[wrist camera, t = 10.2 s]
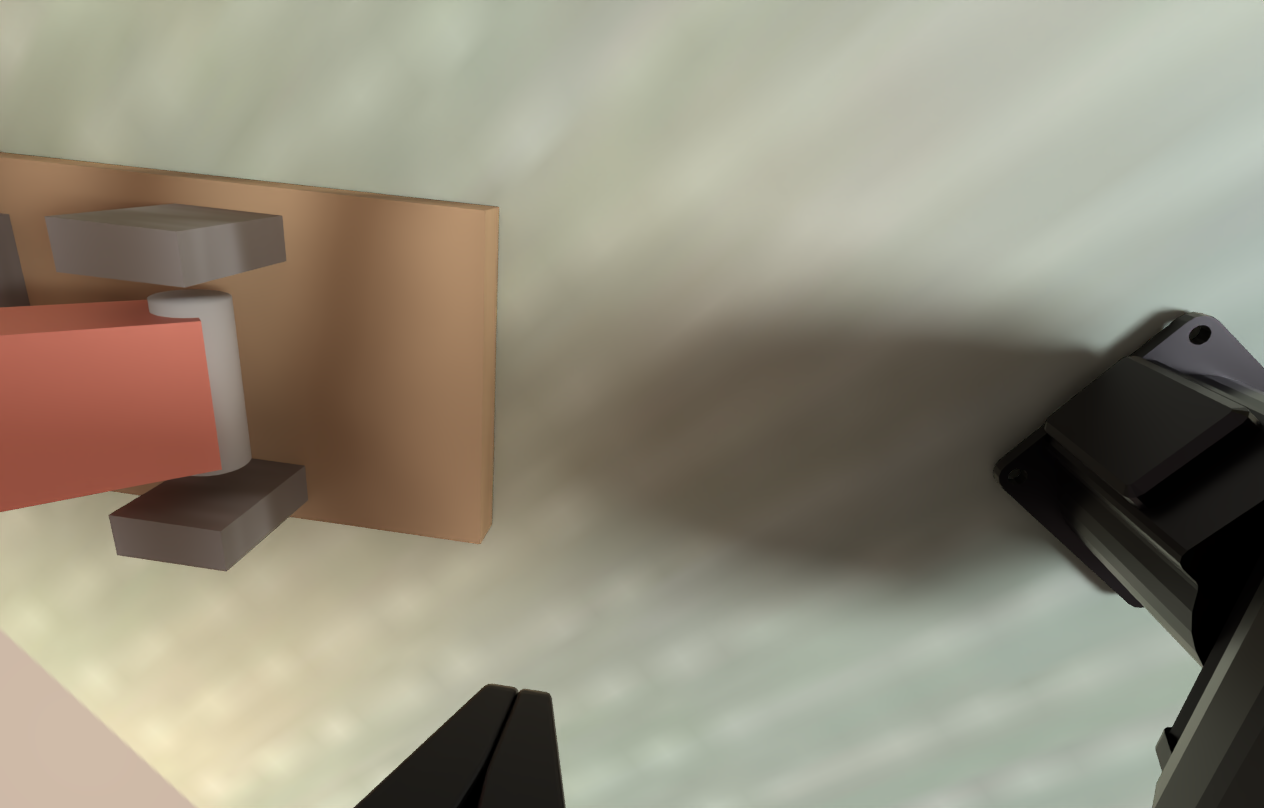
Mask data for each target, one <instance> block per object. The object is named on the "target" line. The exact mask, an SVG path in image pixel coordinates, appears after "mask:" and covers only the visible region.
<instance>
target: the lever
mask: <svg viewBox="0 0 1264 808" xmlns="http://www.w3.org/2000/svg"><path fill="white" fill-rule="evenodd" d="M251 458H252V456H251V448H250V440H249V431H248V423H247V415H246V407H245V399H244V390H243V382H242V374H241V366H240V358H239V349H238V341H237V333H236V325H235V317H234V309H233V300H232V295H231V294H229V293H226V292H222V291H216V290H206V289H184V290H172V291H165V292H159V293H156V294H152V295H150V296H149V297H147V300H132V301H113V302H94V303H75V304H56V305H37V306H19V307H0V512H3V511H8V510H13V509H19V508H24V507H29V506H34V505H40V504H45V503H50V502H55V501H61V500H66V499H71V498H76V497H81V496H87V495H92V494H97V493H102V492H108V491H113V490H118V489H123V488H128V487H134V486H139V485H144V484H149V483H155V482H160V481H165V480H170V479H176V478H181V477H186V476H213V475H220V474H224V473H228V472H232V471H235V470H237V469H239V468H242V467H243V466H245V465H246V464H248V463H249V462H250V460H251Z"/></svg>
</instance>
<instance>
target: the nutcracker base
mask: <svg viewBox="0 0 1264 808" xmlns="http://www.w3.org/2000/svg"><path fill="white" fill-rule="evenodd" d="M498 233H499V207H495V206H485V205H476V204H467V203H458V202H449V201H440V200H431V199H422V198H413V197H403V196H394V195H385V194H376V193H367V192H358V191H349V190H340V189H331V188H321V187H312V186H303V185H294V184H285V183H276V182H267V181H258V180H249V179H239V178H230V177H221V176H212V175H203V174H194V173H185V172H176V171H167V170H157V169H148V168H139V167H130V166H121V165H112V164H103V163H94V162H84V161H75V160H66V159H57V158H48V157H39V156H30V155H21V154H12V153H2V152H0V307H19V306H37V305H56V304H75V303H94V302H113V301H132V300H147V297H149V296H150V295H152V294H156V293H159V292H165V291H172V290H184V289H206V290H216V291H222V292H226V293H229V294H231V295H232V300H233V309H234V317H235V325H236V333H237V341H238V349H239V358H240V366H241V374H242V382H243V390H244V399H245V407H246V415H247V423H248V431H249V440H250V448H251V456H252V458H251V460H250V462H249V463H248V464H246V465H245V466H243V467H242V468H239V469H237V470H235V471H232V472H228V473H224V474H220V475H213V476H186V477H181V478H176V479H170V480H165V481H160V482H155V483H149V484H144V485H139V486H134V487H128V488H123V489H118V490H113V491H114V492H121V493H128V494H135V495H141V496H139V497H138V498H136V499H134V500H133V501H131V502H130V503H128V504H126V505H125V506H123V507H121V508H120V509H118V510H116V511H115V512H113V513H111V514H110V515H109V519H110V523H111V528H112V533H113V537H114V542H115V546H116V551H117V555H121V556H127V557H134V558H141V559H147V560H154V561H161V562H167V563H174V564H181V565H187V566H194V567H201V568H207V569H214V570H221V571H227V570H229V569H230V568H231V567H232V566H233V565H234V564H236V563H237V562H238V561H239V560H240V559H241V558H242V557H244V556H245V555H246V554H247V553H248V552H249V551H250V550H252V549H253V548H254V547H255V546H256V545H257V544H258V543H260V542H261V541H262V540H263V539H264V538H265V537H266V536H268V535H269V534H270V533H271V532H272V531H273V530H275V529H276V528H277V527H278V526H279V525H280V524H281V523H283V522H284V521H285V520H286V519H287V518H288V517H295V518H302V519H309V520H316V521H323V522H330V523H337V524H344V525H351V526H358V527H365V528H371V529H378V530H385V531H392V532H399V533H406V534H413V535H420V536H427V537H434V538H441V539H448V540H455V541H462V542H469V543H476V544H481V542H482V540H483V539H484V537H485V535H486V534H487V532H488V530H489V528H490V527H491V525H492V501H493V456H494V412H495V367H496V322H497V278H498Z"/></svg>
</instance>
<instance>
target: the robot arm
mask: <svg viewBox="0 0 1264 808" xmlns="http://www.w3.org/2000/svg"><path fill="white" fill-rule="evenodd" d="M1199 325H1200V327H1201V329H1200V333H1199V335H1198V336H1197V337H1196V338H1194V339H1192V340H1189V334H1190V332H1191V331H1192V330H1193V328H1195V327H1197V326H1199ZM1015 469H1021V473H1020V474H1019V475H1018V476H1017V477H1015V478H1013V479H1008V475H1009V474H1010V472H1011V471H1013V470H1015ZM993 474H994V478H995V479H996V481H997V482H998V483H999V485H1000V486H1001V487H1002V488H1003V489H1004V490H1005V491H1006V492H1007V493H1008V494H1009V495H1011V496H1012V497H1013V498H1014V499H1015V500H1016V501H1017V502H1018V503H1019V504H1020V505H1021V506H1023V507H1024V508H1025V509H1026V510H1027V511H1028V512H1029V513H1030V514H1031V515H1032V516H1033V517H1034V518H1036V519H1037V520H1038V521H1039V522H1040V523H1041V524H1042V525H1043V526H1044V527H1045V528H1046V529H1048V530H1049V531H1050V532H1051V533H1052V534H1053V535H1054V536H1055V537H1056V538H1057V539H1058V540H1060V541H1061V542H1062V543H1063V544H1064V545H1065V546H1066V547H1067V548H1068V549H1069V550H1070V551H1072V552H1073V553H1074V554H1075V555H1076V556H1077V557H1078V558H1079V559H1080V560H1081V561H1082V562H1084V563H1085V564H1086V565H1087V566H1088V567H1089V568H1090V569H1091V570H1092V571H1093V572H1094V573H1096V574H1097V575H1098V576H1099V577H1100V578H1101V579H1102V580H1103V581H1104V582H1105V583H1106V584H1108V585H1109V586H1110V587H1111V588H1112V589H1113V590H1114V591H1115V592H1116V593H1117V594H1118V595H1119V596H1121V597H1122V598H1123V599H1124V600H1125V601H1126V602H1127V603H1128V604H1130V605H1132V606H1133V607H1139V608H1142V607H1145V608H1146V609H1147V610H1148V611H1149V612H1150V614H1151V615H1152V616H1153V617H1154V618H1155V619H1156V620H1157V621H1158V622H1159V623H1160V624H1161V625H1162V626H1163V627H1164V628H1165V629H1166V630H1167V631H1168V632H1169V633H1170V634H1171V636H1172V637H1173V638H1174V639H1175V640H1176V641H1177V642H1178V643H1179V644H1180V645H1181V646H1182V647H1183V648H1184V649H1185V650H1186V651H1187V652H1188V653H1189V654H1190V655H1191V656H1192V658H1193V659H1194V660H1195V661H1196V662H1197V663H1198V664H1199V665H1200V666H1201V667H1202V670H1201V672H1200V674H1199V676H1198V678H1197V680H1196V682H1195V684H1194V686H1193V688H1192V689H1191V691H1190V693H1189V695H1188V697H1187V699H1186V701H1185V703H1184V705H1183V707H1182V709H1181V711H1180V713H1179V715H1178V717H1177V719H1176V721H1175V723H1174V725H1173V727H1167V728H1165V729H1164V731H1163V733H1162V735H1161V737H1160V739H1159V741H1158V743H1157V745H1156V753H1157V756H1158V759H1159V763H1160V766H1161V769H1162V774H1161V775H1160V777H1159V779H1158V781H1157V783H1156V789H1155V795H1154V801H1153V806H1152V808H1264V368H1263V367H1262V366H1261V365H1260V364H1259V363H1258V361H1257V360H1256V359H1255V358H1254V357H1253V356H1252V355H1251V354H1250V353H1249V352H1248V351H1247V350H1246V349H1245V348H1244V347H1243V346H1242V345H1241V344H1240V343H1239V341H1238V340H1237V339H1236V338H1235V337H1234V336H1233V335H1232V334H1231V333H1230V332H1229V331H1228V330H1227V329H1226V328H1225V327H1224V326H1223V325H1222V324H1221V323H1220V321H1218V320H1217V319H1215V318H1214V317H1212V316H1209V315H1206V314H1203V313H1197V312H1191V313H1187V314H1184V315H1182V316H1181V317H1179V318H1177V319H1176V320H1175V321H1173V322H1172V323H1171V324H1170V325H1168V326H1167V327H1166V328H1165V329H1163V330H1162V331H1161V332H1160V333H1158V334H1157V335H1156V336H1155V337H1153V338H1152V339H1151V340H1150V341H1148V342H1147V343H1146V344H1145V345H1143V346H1142V347H1141V348H1139V349H1138V350H1137V351H1136V352H1134V353H1133V354H1132V355H1131V356H1129V357H1124V358H1122V359H1121V360H1120V361H1118V362H1117V363H1116V364H1115V365H1113V366H1112V367H1111V368H1110V369H1108V370H1107V371H1106V372H1105V373H1103V374H1102V375H1101V376H1100V377H1098V378H1097V379H1096V380H1095V381H1093V382H1092V383H1091V384H1090V385H1088V386H1087V387H1086V388H1085V389H1083V390H1082V391H1081V392H1080V393H1078V394H1077V395H1076V396H1075V397H1073V398H1072V399H1071V400H1070V401H1068V402H1067V403H1066V404H1065V405H1063V406H1062V407H1061V408H1060V409H1058V410H1057V411H1056V412H1055V413H1053V414H1052V415H1051V416H1050V417H1048V418H1047V420H1046V423H1045V424H1044V425H1043V426H1042V427H1040V428H1039V429H1038V430H1037V431H1035V432H1034V433H1033V434H1032V435H1030V436H1029V437H1028V438H1027V439H1025V440H1024V441H1023V442H1022V443H1020V444H1019V445H1018V446H1017V447H1015V448H1014V449H1013V450H1012V451H1010V452H1009V453H1008V454H1006V455H1005V456H1004V457H1003V458H1001V459H1000V460H999V461H998V462H997V464H996V465H995V467H994V470H993ZM354 808H566V807H565V799H564V791H563V783H562V775H561V767H560V759H559V752H558V744H557V736H556V728H555V720H554V712H553V704H552V698H551V695H550V694H549V693H547V692H542V691H536V690H530V689H522V690H520V692H518V690H517V689H516V688H515V687H510V686H504V685H497V684H488V685H486V686H484V687H483V688H482V689H481V690H480V691H479V692H478V693H476V694H475V695H474V696H473V697H472V698H471V699H470V700H469V701H468V702H467V703H466V704H465V705H464V706H462V707H461V708H460V709H459V710H458V711H457V712H456V713H455V714H454V715H453V716H452V717H451V718H450V719H449V720H447V721H446V722H445V723H444V724H443V725H442V726H441V727H440V728H439V729H438V730H437V731H436V732H435V733H433V734H432V735H431V736H430V737H429V738H428V739H427V740H426V741H425V742H424V743H423V744H422V745H421V746H419V747H418V748H417V749H416V750H415V751H414V752H413V753H412V754H411V755H410V756H409V757H408V758H407V759H405V760H404V761H403V762H402V763H401V764H400V765H399V766H398V767H397V768H396V769H395V770H394V771H393V772H392V773H390V774H389V775H388V776H387V777H386V778H385V779H384V780H383V781H382V782H381V783H380V784H379V785H378V786H376V787H375V788H374V789H373V790H372V791H371V792H370V793H369V794H368V795H367V796H366V797H365V798H364V799H362V800H361V801H360V802H359V803H358V804H357V805H356V806H355V807H354Z"/></svg>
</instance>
